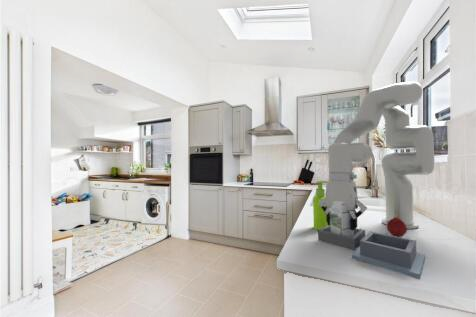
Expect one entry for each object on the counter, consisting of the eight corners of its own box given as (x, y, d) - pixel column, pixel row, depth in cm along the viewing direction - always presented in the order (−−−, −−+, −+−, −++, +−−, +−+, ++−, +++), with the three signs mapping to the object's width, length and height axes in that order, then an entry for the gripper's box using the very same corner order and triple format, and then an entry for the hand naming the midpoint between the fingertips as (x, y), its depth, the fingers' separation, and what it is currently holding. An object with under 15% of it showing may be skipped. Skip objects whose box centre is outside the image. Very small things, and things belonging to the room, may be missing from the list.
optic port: (366, 243, 70) (365, 228, 70) (425, 257, 59) (424, 240, 60) (351, 258, 60) (350, 240, 60) (419, 278, 49) (419, 257, 49)
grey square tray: (331, 232, 82) (331, 223, 82) (365, 239, 73) (365, 230, 73) (318, 240, 74) (318, 230, 74) (354, 250, 65) (354, 239, 65)
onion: (410, 241, 72) (410, 218, 72) (392, 240, 73) (391, 217, 73) (401, 235, 77) (400, 214, 77) (384, 234, 78) (383, 213, 79)
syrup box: (354, 241, 72) (353, 200, 72) (341, 244, 70) (341, 201, 70) (341, 236, 77) (340, 197, 77) (329, 238, 75) (328, 198, 75)
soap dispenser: (332, 231, 83) (330, 181, 83) (313, 229, 85) (312, 181, 85) (330, 227, 88) (329, 180, 89) (313, 225, 91) (312, 180, 91)
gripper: (371, 177, 70) (372, 229, 70) (321, 175, 83) (322, 220, 82) (364, 179, 65) (366, 235, 65) (312, 177, 78) (313, 224, 77)
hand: (341, 226), depth 74 cm, fingers closed on syrup box, 7 cm apart
